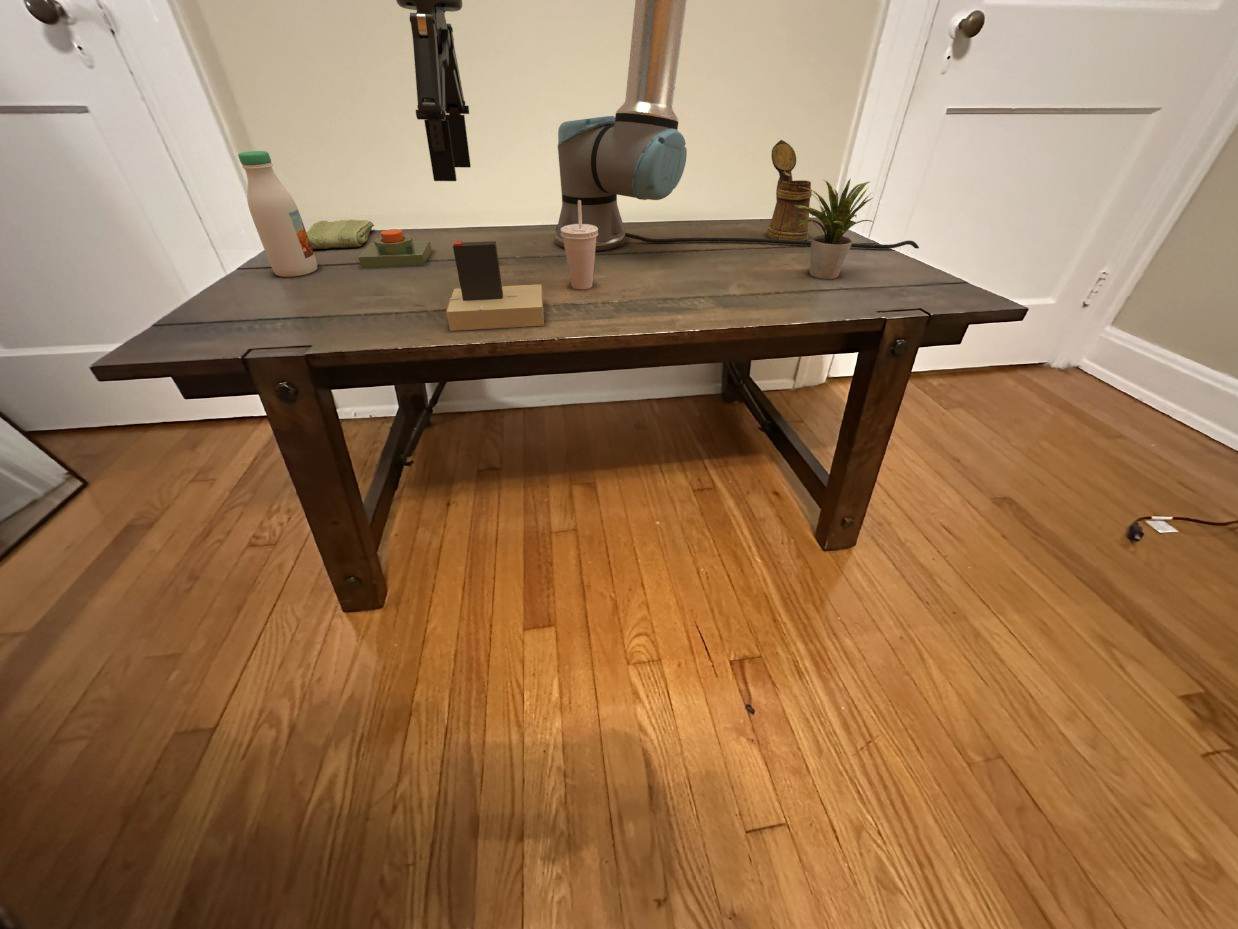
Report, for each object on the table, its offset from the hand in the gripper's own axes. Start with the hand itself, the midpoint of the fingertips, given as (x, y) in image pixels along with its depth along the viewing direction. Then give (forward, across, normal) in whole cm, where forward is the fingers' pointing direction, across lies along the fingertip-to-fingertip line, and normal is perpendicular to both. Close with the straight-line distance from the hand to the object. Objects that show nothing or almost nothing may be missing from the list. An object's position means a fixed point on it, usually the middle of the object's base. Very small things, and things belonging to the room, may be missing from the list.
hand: (453, 173), depth 73 cm
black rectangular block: (+17, +1, +2) cm, 17 cm away
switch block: (+20, -31, -19) cm, 41 cm away
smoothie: (+19, -11, +18) cm, 28 cm away
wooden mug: (+17, -41, +65) cm, 78 cm away
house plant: (+18, -14, +64) cm, 67 cm away
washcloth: (+20, -48, -36) cm, 63 cm away
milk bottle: (+20, -26, -37) cm, 49 cm away
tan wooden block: (+20, +1, +4) cm, 20 cm away
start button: (+16, -31, -19) cm, 40 cm away
